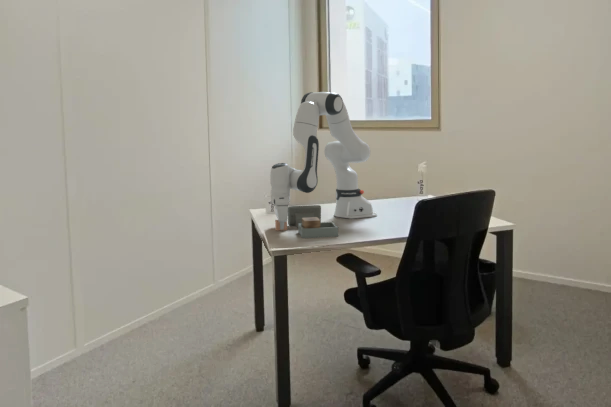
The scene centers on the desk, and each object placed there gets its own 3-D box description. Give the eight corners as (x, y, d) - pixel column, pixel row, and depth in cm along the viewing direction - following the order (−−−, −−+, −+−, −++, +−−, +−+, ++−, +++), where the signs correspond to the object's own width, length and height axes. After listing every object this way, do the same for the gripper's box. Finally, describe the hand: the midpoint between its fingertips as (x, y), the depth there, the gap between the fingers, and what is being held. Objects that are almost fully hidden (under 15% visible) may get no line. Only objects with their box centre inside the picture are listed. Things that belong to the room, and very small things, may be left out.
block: (317, 232, 257) (317, 217, 256) (320, 236, 250) (320, 220, 248) (302, 232, 256) (301, 217, 255) (304, 236, 249) (304, 221, 247)
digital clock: (322, 224, 278) (321, 203, 276) (320, 228, 269) (319, 206, 267) (289, 224, 280) (288, 203, 278) (286, 228, 271) (285, 206, 269)
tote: (333, 232, 260) (332, 221, 260) (338, 238, 249) (338, 227, 248) (298, 234, 258) (298, 223, 257) (302, 240, 247) (301, 229, 246)
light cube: (286, 229, 268) (285, 219, 267) (287, 232, 263) (287, 221, 262) (275, 230, 267) (275, 220, 266) (276, 232, 262) (276, 222, 262)
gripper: (271, 195, 272) (272, 223, 275) (275, 202, 252) (276, 232, 255) (284, 194, 273) (285, 223, 275) (289, 201, 253) (290, 232, 256)
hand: (281, 227), depth 265 cm, fingers closed on light cube, 5 cm apart
